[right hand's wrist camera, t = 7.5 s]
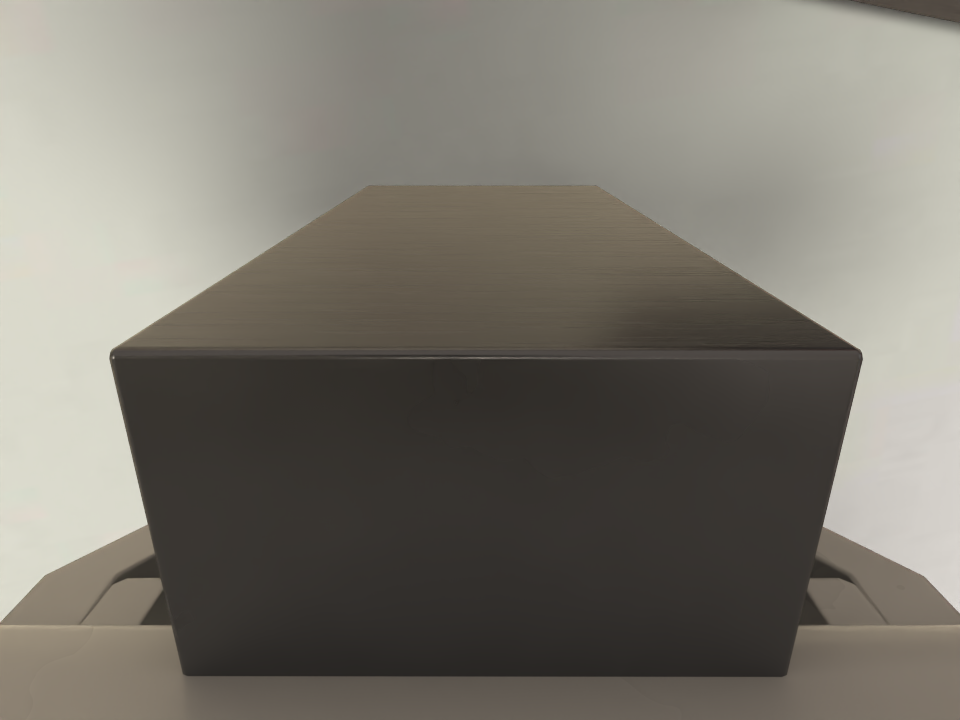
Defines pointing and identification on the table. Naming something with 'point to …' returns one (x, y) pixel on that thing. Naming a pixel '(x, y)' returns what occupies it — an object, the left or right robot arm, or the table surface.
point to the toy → (922, 7)
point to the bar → (485, 447)
